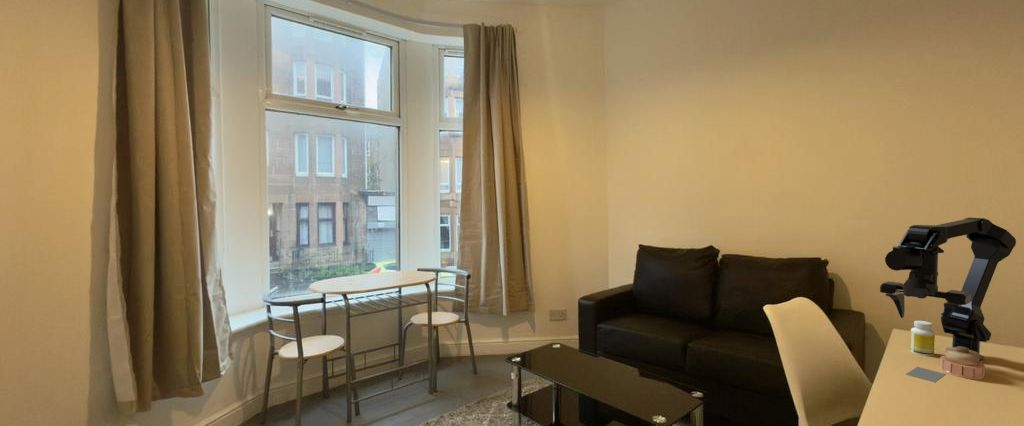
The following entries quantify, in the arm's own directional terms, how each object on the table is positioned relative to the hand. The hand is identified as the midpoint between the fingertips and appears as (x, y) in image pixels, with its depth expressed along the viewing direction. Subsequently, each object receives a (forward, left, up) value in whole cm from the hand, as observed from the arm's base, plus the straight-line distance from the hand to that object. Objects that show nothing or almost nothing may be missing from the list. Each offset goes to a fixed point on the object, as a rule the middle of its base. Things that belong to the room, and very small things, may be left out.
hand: (922, 321), depth 129 cm
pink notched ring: (+2, +9, -12) cm, 15 cm away
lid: (+2, +9, -8) cm, 13 cm away
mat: (+11, +4, -12) cm, 17 cm away
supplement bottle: (-8, -2, -12) cm, 15 cm away
